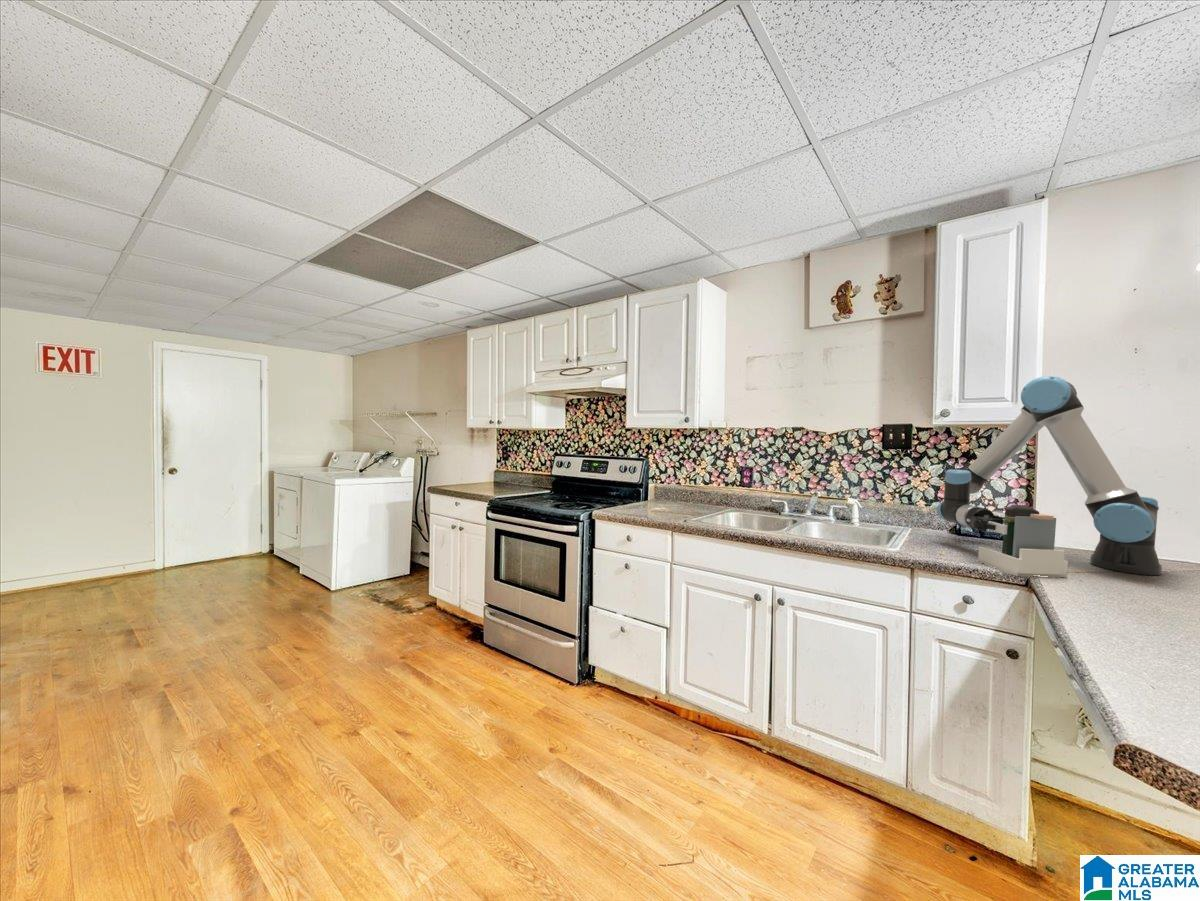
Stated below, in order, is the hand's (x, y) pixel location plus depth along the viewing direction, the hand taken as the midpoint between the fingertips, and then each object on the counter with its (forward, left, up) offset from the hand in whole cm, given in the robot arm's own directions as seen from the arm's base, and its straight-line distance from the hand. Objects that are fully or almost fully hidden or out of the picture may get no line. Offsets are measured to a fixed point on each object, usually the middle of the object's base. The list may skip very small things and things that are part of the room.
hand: (1029, 530), depth 142 cm
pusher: (0, +3, -8) cm, 8 cm away
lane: (0, -2, -13) cm, 13 cm away
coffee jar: (0, -3, -12) cm, 12 cm away
